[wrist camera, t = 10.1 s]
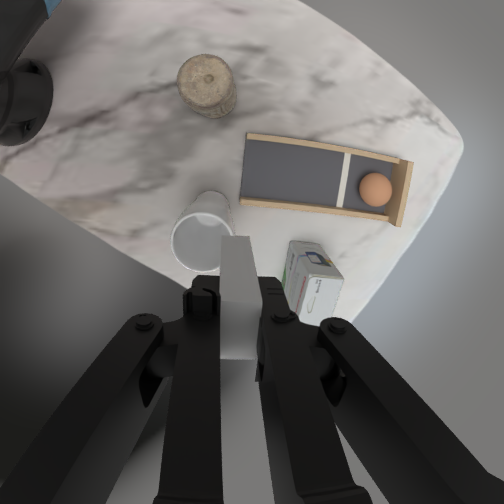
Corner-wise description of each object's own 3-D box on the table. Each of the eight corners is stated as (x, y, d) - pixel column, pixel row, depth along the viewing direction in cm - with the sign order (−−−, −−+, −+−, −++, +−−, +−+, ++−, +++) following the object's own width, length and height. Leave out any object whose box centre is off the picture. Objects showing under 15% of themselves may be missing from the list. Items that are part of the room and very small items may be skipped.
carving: (217, 62, 37) (211, 38, 26) (246, 103, 39) (251, 92, 28) (179, 86, 38) (160, 71, 27) (208, 127, 40) (199, 125, 29)
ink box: (289, 239, 47) (307, 273, 36) (321, 243, 48) (345, 277, 37) (279, 288, 51) (292, 331, 40) (309, 291, 51) (328, 333, 40)
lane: (239, 201, 45) (240, 209, 40) (246, 133, 41) (248, 133, 36) (386, 217, 47) (400, 227, 42) (397, 158, 43) (413, 162, 39)
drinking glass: (214, 175, 43) (204, 197, 29) (243, 210, 45) (249, 247, 31) (179, 205, 44) (155, 240, 30) (209, 238, 46) (200, 285, 33)
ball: (360, 200, 46) (354, 205, 42) (364, 169, 44) (358, 170, 40) (390, 206, 44) (387, 212, 40) (395, 175, 42) (393, 177, 38)
